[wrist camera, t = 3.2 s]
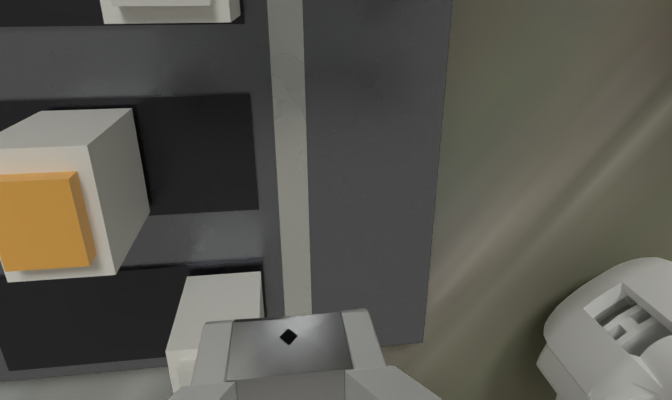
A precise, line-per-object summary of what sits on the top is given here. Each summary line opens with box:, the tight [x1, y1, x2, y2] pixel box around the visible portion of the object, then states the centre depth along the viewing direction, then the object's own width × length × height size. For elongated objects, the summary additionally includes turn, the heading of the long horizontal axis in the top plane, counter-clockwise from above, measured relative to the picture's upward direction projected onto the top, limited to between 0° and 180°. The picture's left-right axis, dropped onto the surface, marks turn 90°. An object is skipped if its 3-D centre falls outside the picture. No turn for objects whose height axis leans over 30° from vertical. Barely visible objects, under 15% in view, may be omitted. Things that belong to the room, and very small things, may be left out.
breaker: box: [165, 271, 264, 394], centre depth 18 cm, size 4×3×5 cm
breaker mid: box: [0, 108, 150, 282], centre depth 15 cm, size 4×3×5 cm
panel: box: [0, 0, 452, 382], centre depth 19 cm, size 20×22×2 cm
